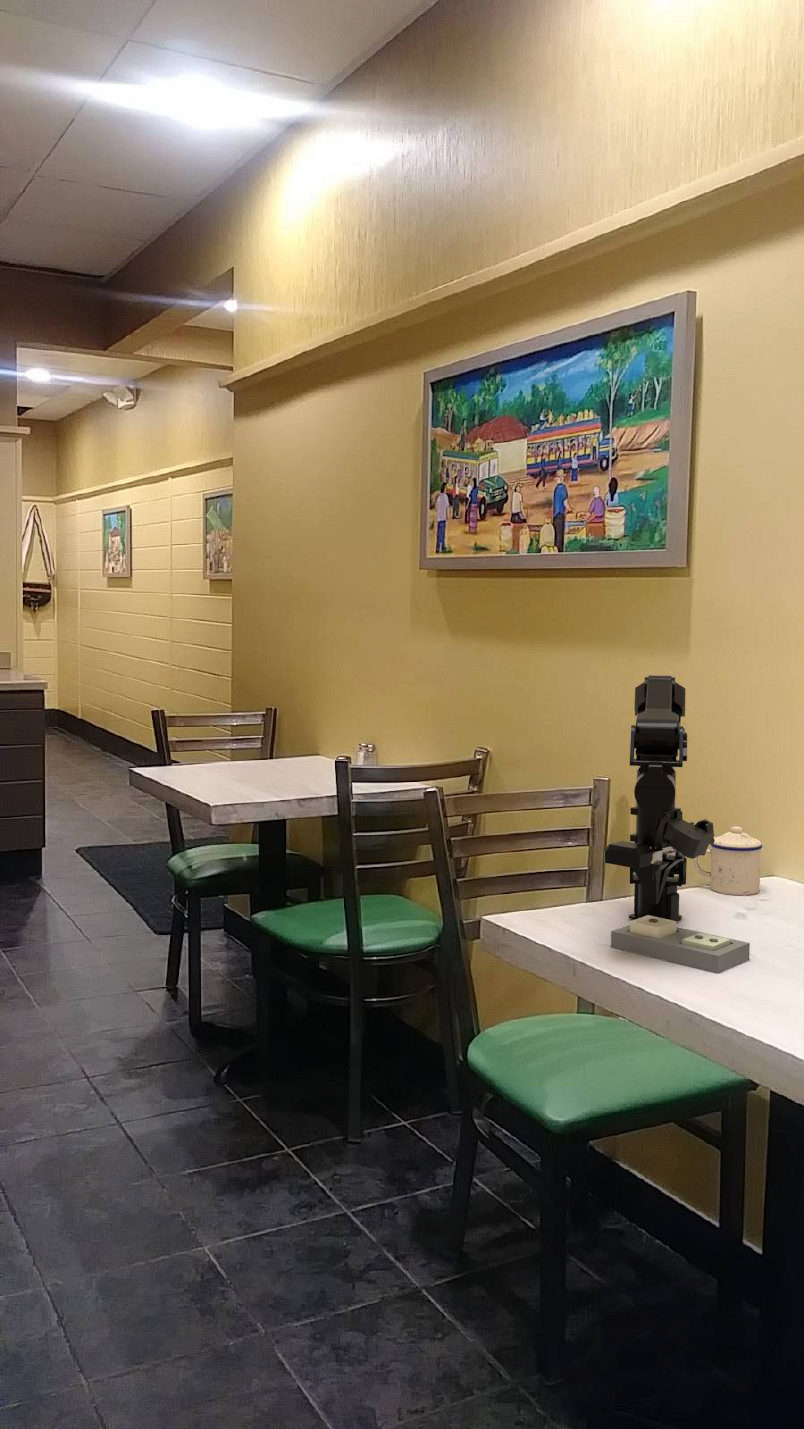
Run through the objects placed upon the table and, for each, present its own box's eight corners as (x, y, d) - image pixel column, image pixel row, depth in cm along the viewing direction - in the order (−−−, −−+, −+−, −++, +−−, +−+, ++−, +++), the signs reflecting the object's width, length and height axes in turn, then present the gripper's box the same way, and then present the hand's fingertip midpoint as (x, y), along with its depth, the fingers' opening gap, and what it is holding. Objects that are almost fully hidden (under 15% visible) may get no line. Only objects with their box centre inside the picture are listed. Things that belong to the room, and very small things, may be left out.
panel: (610, 947, 176) (611, 931, 175) (643, 935, 182) (644, 919, 182) (717, 973, 163) (718, 955, 163) (749, 959, 169) (749, 942, 169)
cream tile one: (629, 934, 176) (629, 920, 175) (647, 927, 179) (648, 913, 179) (658, 940, 172) (658, 926, 172) (676, 934, 176) (676, 919, 175)
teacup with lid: (760, 886, 215) (761, 824, 214) (761, 897, 206) (763, 833, 205) (693, 882, 218) (694, 820, 217) (692, 893, 209) (693, 829, 208)
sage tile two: (681, 952, 169) (682, 938, 169) (699, 945, 173) (700, 931, 173) (712, 960, 166) (712, 944, 166) (730, 952, 169) (730, 937, 169)
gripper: (668, 816, 162) (666, 925, 163) (735, 800, 175) (733, 901, 176) (602, 806, 169) (600, 911, 171) (671, 792, 183) (669, 889, 184)
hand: (653, 903), depth 175 cm, fingers closed
